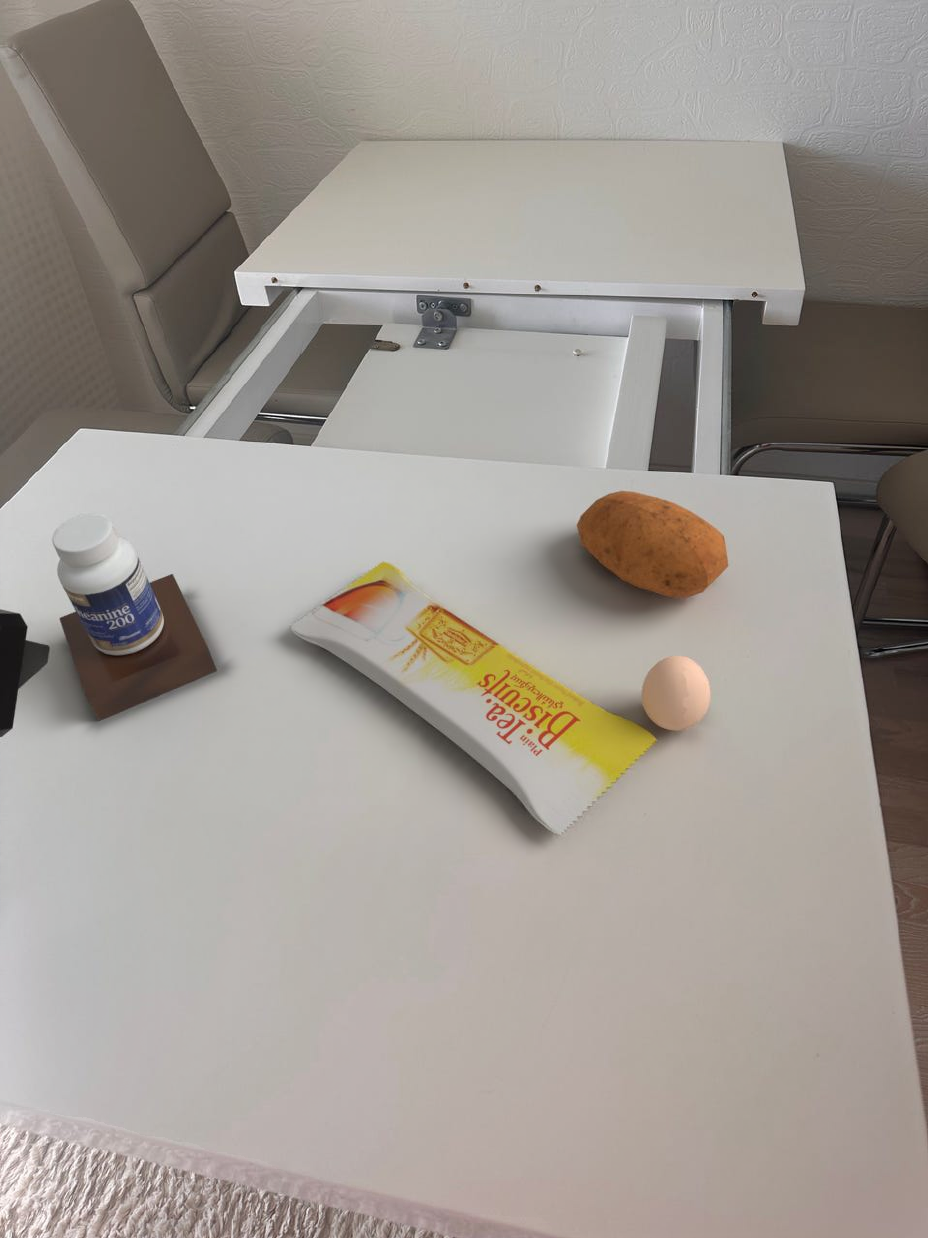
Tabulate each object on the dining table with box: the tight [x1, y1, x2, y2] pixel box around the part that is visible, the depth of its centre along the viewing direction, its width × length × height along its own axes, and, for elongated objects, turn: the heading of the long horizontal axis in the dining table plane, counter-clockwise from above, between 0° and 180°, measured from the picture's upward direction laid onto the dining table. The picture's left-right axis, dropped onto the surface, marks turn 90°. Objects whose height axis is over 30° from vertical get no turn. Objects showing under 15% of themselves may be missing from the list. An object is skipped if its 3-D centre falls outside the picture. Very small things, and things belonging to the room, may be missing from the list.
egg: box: [641, 655, 711, 732], centre depth 63 cm, size 4×4×6 cm
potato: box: [576, 490, 729, 599], centre depth 73 cm, size 7×13×7 cm, turn 38°
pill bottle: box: [51, 512, 164, 655], centre depth 67 cm, size 5×5×10 cm
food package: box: [289, 560, 658, 837], centre depth 67 cm, size 27×2×10 cm
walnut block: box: [59, 573, 218, 721], centre depth 72 cm, size 9×9×3 cm
